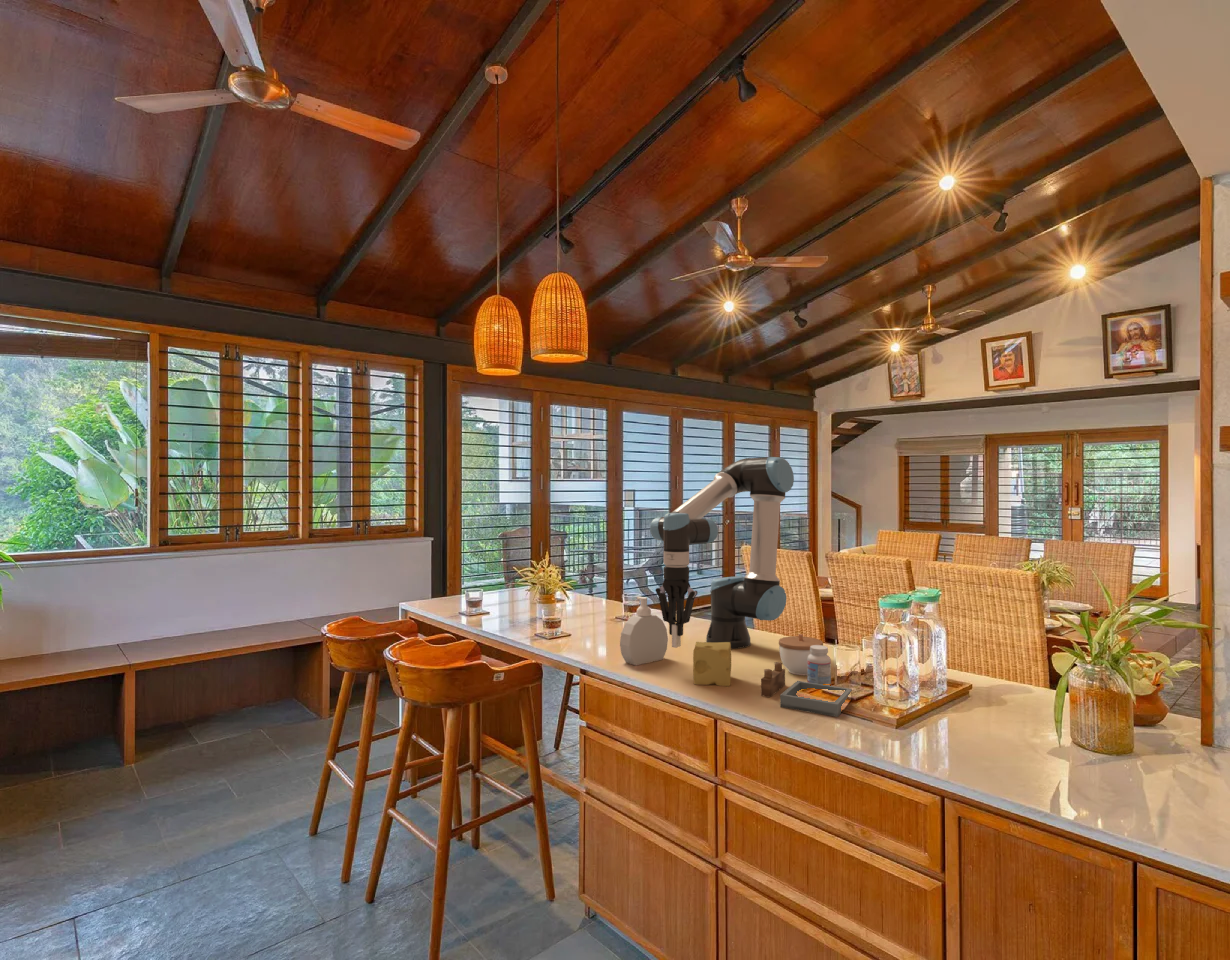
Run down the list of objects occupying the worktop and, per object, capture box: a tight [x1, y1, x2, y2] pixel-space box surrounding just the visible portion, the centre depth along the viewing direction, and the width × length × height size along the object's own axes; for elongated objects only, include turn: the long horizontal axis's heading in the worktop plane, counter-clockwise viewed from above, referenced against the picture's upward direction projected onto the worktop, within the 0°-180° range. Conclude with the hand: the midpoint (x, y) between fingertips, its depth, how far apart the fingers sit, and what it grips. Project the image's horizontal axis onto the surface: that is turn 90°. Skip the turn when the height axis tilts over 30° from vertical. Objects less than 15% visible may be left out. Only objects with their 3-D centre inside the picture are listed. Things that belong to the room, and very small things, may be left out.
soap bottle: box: [619, 596, 669, 666], centre depth 211 cm, size 16×5×20 cm, turn 127°
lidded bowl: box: [778, 633, 824, 676], centre depth 197 cm, size 13×13×11 cm
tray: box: [779, 680, 853, 718], centre depth 169 cm, size 14×14×3 cm
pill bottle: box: [807, 645, 832, 685], centre depth 181 cm, size 6×6×11 cm
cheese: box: [692, 641, 732, 687], centre depth 190 cm, size 10×11×10 cm
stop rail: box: [760, 661, 786, 698], centre depth 180 cm, size 12×2×6 cm, turn 147°
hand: (676, 646), depth 195 cm, fingers closed
